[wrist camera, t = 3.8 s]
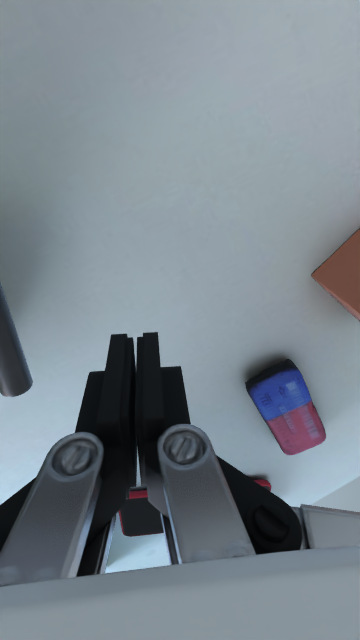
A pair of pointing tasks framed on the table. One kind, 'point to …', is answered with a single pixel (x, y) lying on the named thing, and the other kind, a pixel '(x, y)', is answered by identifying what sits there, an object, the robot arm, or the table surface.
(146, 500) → the smartphone
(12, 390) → the drawer
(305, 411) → the eraser
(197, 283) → the table surface
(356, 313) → the block
